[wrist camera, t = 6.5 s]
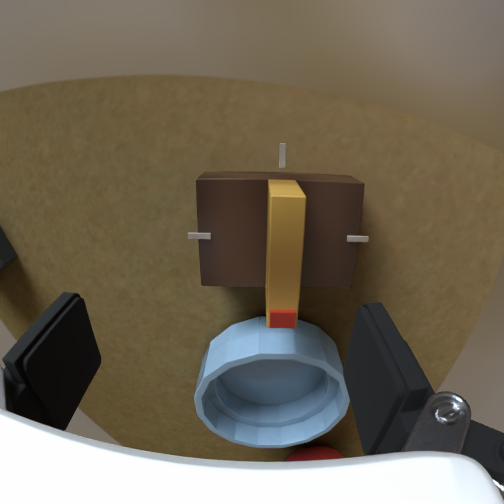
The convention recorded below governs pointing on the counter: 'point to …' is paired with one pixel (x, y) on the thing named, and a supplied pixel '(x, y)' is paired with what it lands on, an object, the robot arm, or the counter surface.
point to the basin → (271, 384)
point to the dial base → (255, 227)
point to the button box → (5, 252)
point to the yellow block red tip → (284, 252)
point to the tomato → (314, 454)
